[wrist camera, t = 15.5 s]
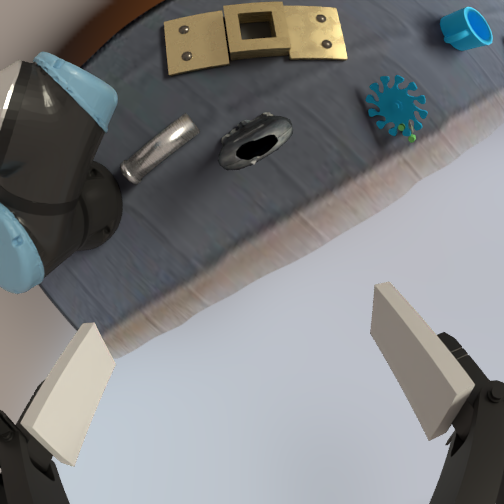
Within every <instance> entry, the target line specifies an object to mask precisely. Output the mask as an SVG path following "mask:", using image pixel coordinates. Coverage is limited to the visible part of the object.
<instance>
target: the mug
mask: <svg viewBox="0 0 504 504" xmlns="http://www.w3.org/2000/svg"><path fill="white" fill-rule="evenodd" d="M440 27H441V30H442V33H443V35H444V36H445V37H444V41H445V42H446V43H450V44H451V45H452V46H453V47H454V48H456V49H458V50H461V51H464V50H468V49H472V48H476V47H481V46H485V45H489V44H491V43H492V39H493V37H492V32H491V30H490V27H489V25H488V23H487V22H486V20H485V19H484V17H483V16H482V15H481V14H480V13H479V12H478V11H477V10H475V9H474V8H471V7H465V8H463V9H461V10H458V11H456V12H453V13H451V14H449V15H446V16H444V17H442V18H441V20H440Z"/></svg>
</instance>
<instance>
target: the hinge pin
mask: <svg viewBox="0 0 504 504" xmlns="http://www.w3.org/2000/svg"><path fill="white" fill-rule="evenodd" d="M198 133H200V131H199V129H198V128H197V126H196V125H195V124H194V122H193V121H192V120H191V118H190V117H189V116H188V115H187V114H186V113H185V114H184V115H182V116H181V117H180V118H178V119H177V120H176V121H174V122H173V123H172V124H170V125H169V126H168V127H167V128H165V129H164V130H163V131H162V132H160V133H159V134H158V135H157V136H155V137H154V138H153V139H152V140H150V141H149V142H148V143H147V144H146V145H144V146H143V147H142V148H141V149H140V150H139V151H137V152H136V153H135V154H134V155H133V156H132V157H131V158H129V159H128V160H124V161H123V162H122V163H121V164H120V169H121V171H122V173H123V175H124V176H125V177H126V178H127V179H128V180H129V181H130V182H131V183H133V184H135V185H137V184H138V183H140V182H141V181H142V177H144V176H145V175H146V174H147V173H148V172H150V171H151V170H152V169H153V168H154V167H156V166H157V165H158V164H159V163H161V162H162V161H163V160H164V159H165V158H167V157H168V156H169V155H171V154H172V153H173V152H174V151H176V150H177V149H178V148H180V147H181V146H182V145H184V144H185V143H186V142H188V141H189V140H190V139H192V138H193V137H194V136H196V135H197V134H198Z"/></svg>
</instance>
